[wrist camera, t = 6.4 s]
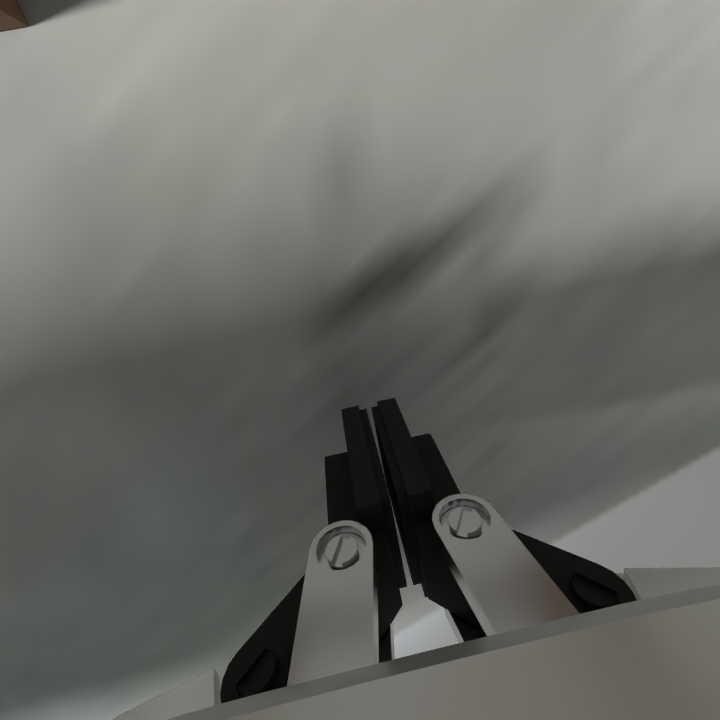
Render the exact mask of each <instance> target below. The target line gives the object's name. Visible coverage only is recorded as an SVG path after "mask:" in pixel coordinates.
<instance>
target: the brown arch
mask: <svg viewBox="0 0 720 720" xmlns="http://www.w3.org/2000/svg"><path fill="white" fill-rule="evenodd" d="M21 27H27V23H26V21H25V19H24V16H23V14H22V12H21V9H20V7H19V5H18V2H17V0H0V31H4V30H10V29H16V28H21Z"/></svg>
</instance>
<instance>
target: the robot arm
mask: <svg viewBox="0 0 720 720" xmlns="http://www.w3.org/2000/svg"><path fill="white" fill-rule="evenodd" d="M377 404H378V406H376V407H372V413H373V418H374V423H375V428H376V434H377V439H378V444H379V449H380V454H381V459H382V465H383V470H384V474H383V470H382V467H381V463H380V459H379V455H378V451H377V448H376V444H375V440H374V436H373V432H372V429H371V425H370V421H369V417H368V414H367V410H366V409H363V410H359V406H355V407H350V408H346V409H341V410H342V417H343V424H344V431H345V437H346V444H347V451H348V452H344V453H340V454H335V455H331V456H326V457H325V474H326V491H327V509H328V526H326V527H324V528H323V529H322V530H321V531H320V532H319V533H318V534H317V535H316V536H315V538H314V539H313V541H312V543H311V546H310V549H309V555H308V561H307V567H306V573H305V575H304V576H303V577H302V578H301V579H300V581H299V582H298V583H297V584H296V585H295V586H294V587H293V589H292V590H291V591H290V592H289V593H288V594H287V596H286V597H285V598H284V599H283V600H282V601H281V603H280V604H279V605H278V606H277V607H276V608H275V609H274V611H273V612H272V613H271V614H270V615H269V616H268V618H267V619H266V620H265V621H264V622H263V623H262V624H261V626H260V627H259V628H258V629H257V630H256V631H255V633H254V634H253V635H252V636H251V637H250V638H249V639H248V641H247V642H246V643H245V644H244V645H243V646H242V648H241V649H240V650H239V651H238V652H237V653H236V655H235V656H234V658H233V659H232V661H231V662H230V663H229V665H228V667H227V668H225V669H223V670H221V671H219V672H217V673H216V671H215V669H214V668H213V669H211V670H209V671H207V672H205V673H203V674H201V675H199V676H197V677H195V678H193V679H191V680H189V681H187V682H185V683H183V684H181V685H179V686H177V687H175V688H173V689H171V690H169V691H167V692H165V693H163V694H161V695H159V696H157V697H155V698H153V699H151V700H149V701H147V702H145V703H143V704H141V705H139V706H137V707H135V708H133V709H131V710H129V711H127V712H125V713H123V714H121V715H119V716H117V717H116V718H114V719H113V720H720V567H719V568H718V567H716V568H715V567H713V568H625V569H624V573H619V574H618V573H617V574H616V573H614V572H613V571H611V570H609V569H607V568H605V567H603V566H601V565H599V564H596V563H594V562H592V561H589V560H587V559H584V558H582V557H579V556H577V555H574V554H572V553H569V552H566V551H564V550H561V549H559V548H557V547H554V546H552V545H549V544H547V543H544V542H542V541H539V540H537V539H534V538H532V537H529V536H527V535H524V534H522V533H519V532H517V531H514V530H512V529H510V527H509V526H508V525H507V524H506V522H505V521H504V520H503V519H502V518H501V516H500V515H499V514H498V513H497V511H496V510H495V509H494V508H493V507H492V506H491V505H490V504H489V503H488V502H487V501H486V500H484V499H482V498H480V497H478V496H474V495H470V494H460V492H459V490H458V488H457V486H456V484H455V482H454V480H453V478H452V476H451V474H450V472H449V470H448V468H447V466H446V464H445V462H444V460H443V458H442V456H441V454H440V452H439V450H438V448H437V446H436V444H435V442H434V440H433V438H432V436H431V435H430V434H424V435H420V436H415V437H411V436H410V433H409V431H408V429H407V426H406V424H405V421H404V419H403V417H402V414H401V412H400V409H399V407H398V405H397V402H396V400H395V398H391V399H387V400H382V401H377ZM384 475H385V478H384ZM385 479H386V482H385ZM386 484H387V485H386ZM387 488H388V489H387ZM388 491H389V493H388ZM389 495H390V497H389ZM390 499H391V502H390ZM391 503H392V506H393V510H394V514H395V518H396V521H397V525H398V529H399V533H400V537H401V540H402V544H403V548H404V552H405V555H406V559H407V563H408V567H409V570H410V574H411V578H412V582H413V585H416V584H420V583H421V584H422V588H423V591H424V595H425V597H428V599H430V600H432V601H434V602H435V603H437V604H439V605H440V606H442V607H444V610H445V613H446V617H447V619H448V621H449V623H450V625H451V627H452V629H453V631H454V633H455V636H456V638H457V640H458V642H459V644H454V645H450V646H446V647H442V648H438V649H434V650H430V651H426V652H422V653H418V654H414V655H410V656H406V657H402V658H398V659H395V655H394V634H393V627H392V621H393V620H394V618H395V616H396V615H397V613H398V611H399V610H400V608H401V606H402V600H401V595H400V590H399V588H403V587H407V584H406V579H405V574H404V568H403V563H402V558H401V553H400V548H399V542H398V537H397V532H396V527H395V522H394V517H393V511H392V506H391Z"/></svg>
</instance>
